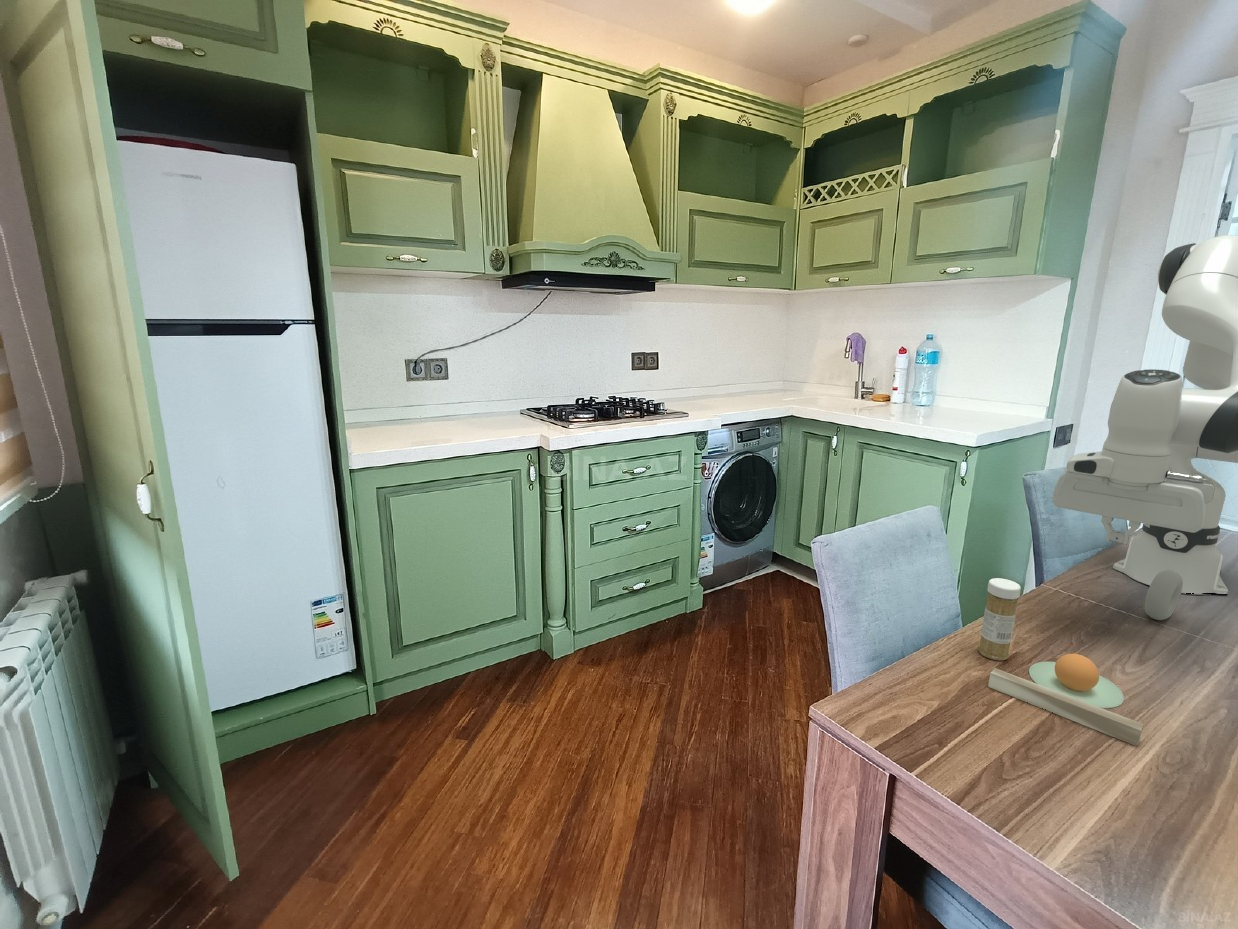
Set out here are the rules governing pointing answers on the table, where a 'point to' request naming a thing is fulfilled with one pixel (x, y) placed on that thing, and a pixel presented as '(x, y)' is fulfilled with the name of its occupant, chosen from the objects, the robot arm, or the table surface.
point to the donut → (1163, 594)
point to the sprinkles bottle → (999, 618)
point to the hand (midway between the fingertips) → (1116, 541)
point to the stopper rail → (1067, 706)
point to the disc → (1098, 696)
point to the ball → (1077, 672)
